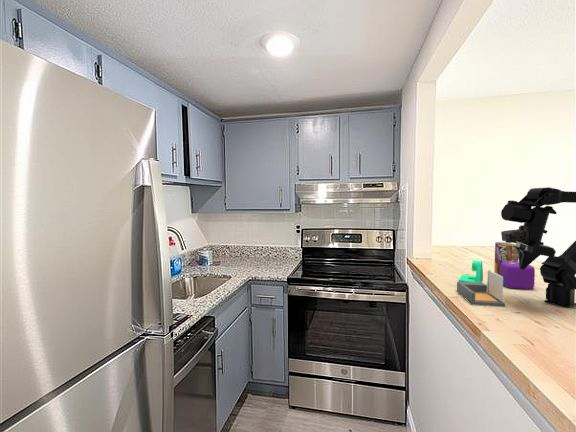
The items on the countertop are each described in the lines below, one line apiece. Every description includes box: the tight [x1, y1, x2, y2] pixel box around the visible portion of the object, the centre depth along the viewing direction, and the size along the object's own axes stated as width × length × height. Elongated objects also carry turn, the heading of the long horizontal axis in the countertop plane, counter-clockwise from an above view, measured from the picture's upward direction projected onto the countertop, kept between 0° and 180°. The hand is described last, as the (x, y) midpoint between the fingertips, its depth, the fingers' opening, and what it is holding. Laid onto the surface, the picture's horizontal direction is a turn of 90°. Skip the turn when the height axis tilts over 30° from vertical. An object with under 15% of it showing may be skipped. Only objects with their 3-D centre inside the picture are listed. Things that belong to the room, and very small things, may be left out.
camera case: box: [456, 281, 506, 307], centre depth 112 cm, size 10×17×4 cm, turn 168°
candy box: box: [493, 241, 519, 275], centre depth 144 cm, size 9×4×15 cm, turn 13°
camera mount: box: [457, 259, 484, 283], centre depth 130 cm, size 12×8×10 cm, turn 143°
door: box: [486, 269, 504, 302], centre depth 109 cm, size 1×10×8 cm, turn 168°
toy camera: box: [500, 261, 536, 290], centre depth 128 cm, size 11×14×10 cm
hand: (521, 269), depth 107 cm, fingers closed
